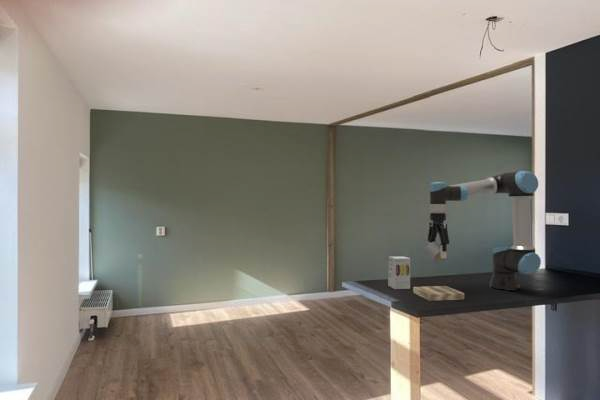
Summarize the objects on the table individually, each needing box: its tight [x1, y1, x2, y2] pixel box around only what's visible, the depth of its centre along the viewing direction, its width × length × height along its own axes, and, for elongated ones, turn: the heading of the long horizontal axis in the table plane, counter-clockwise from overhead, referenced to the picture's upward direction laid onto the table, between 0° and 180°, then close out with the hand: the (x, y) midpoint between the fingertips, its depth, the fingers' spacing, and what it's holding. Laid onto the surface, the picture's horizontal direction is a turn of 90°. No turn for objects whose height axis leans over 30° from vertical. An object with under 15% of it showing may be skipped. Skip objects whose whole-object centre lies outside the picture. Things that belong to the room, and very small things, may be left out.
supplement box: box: [387, 255, 411, 290], centre depth 229 cm, size 10×9×17 cm
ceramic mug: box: [424, 241, 449, 263], centre depth 208 cm, size 11×8×8 cm
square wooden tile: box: [412, 285, 465, 302], centre depth 208 cm, size 18×18×3 cm
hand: (438, 256), depth 208 cm, fingers closed on ceramic mug, 10 cm apart
